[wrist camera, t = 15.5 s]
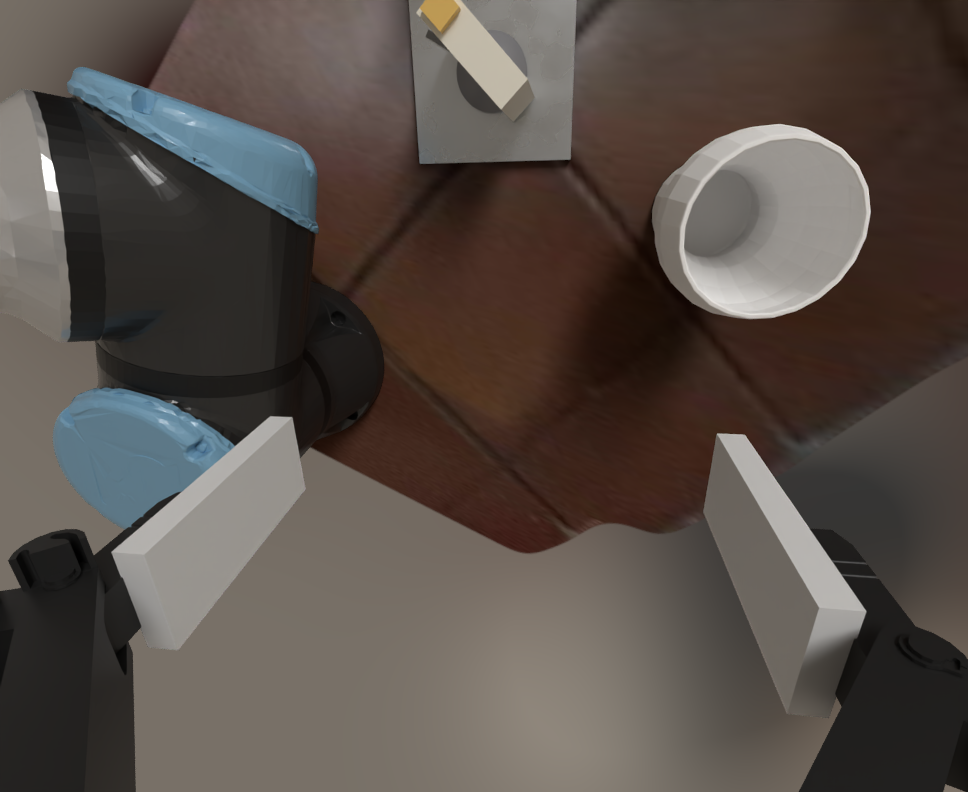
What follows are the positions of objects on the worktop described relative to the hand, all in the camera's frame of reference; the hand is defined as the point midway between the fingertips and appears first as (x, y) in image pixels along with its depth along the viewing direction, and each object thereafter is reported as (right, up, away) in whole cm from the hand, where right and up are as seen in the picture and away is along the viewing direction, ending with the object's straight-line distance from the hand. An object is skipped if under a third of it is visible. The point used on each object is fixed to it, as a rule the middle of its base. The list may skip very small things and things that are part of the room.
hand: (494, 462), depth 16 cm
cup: (+17, +17, +25) cm, 35 cm away
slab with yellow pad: (0, +26, +23) cm, 34 cm away
